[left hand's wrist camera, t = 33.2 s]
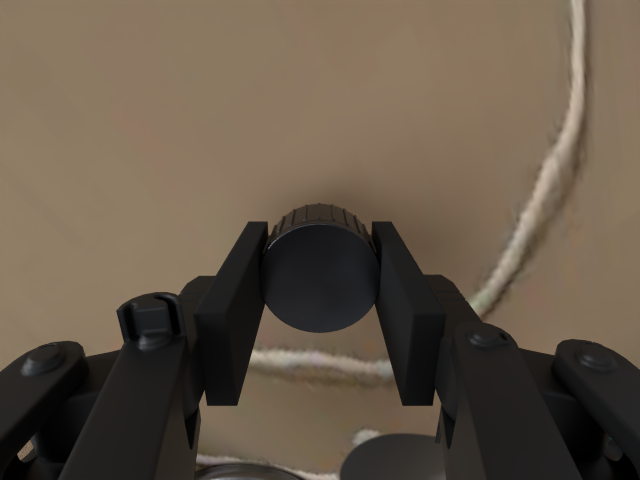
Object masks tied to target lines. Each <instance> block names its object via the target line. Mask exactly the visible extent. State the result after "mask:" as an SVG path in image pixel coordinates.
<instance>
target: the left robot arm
mask: <svg viewBox="0 0 640 480" xmlns="http://www.w3.org/2000/svg"><path fill="white" fill-rule="evenodd" d="M371 238H372V240H373V243H374V246H375V248H376V251H377V253H378V254H376V256H377V258H378V261H379V264H380V269H381V280H380V291H379V294H378V297H377V299H376V301H375V307H376V310H377V314H378V318H379V321H380V325H381V329H382V332H383V336H384V340H385V343H386V347H387V351H388V354H389V358H390V362H391V365H392V369H393V372H394V376H395V380H396V383H397V387H398V391H399V394H400V398H401V402H402V405H403V406H433V399H434V393H435V389H436V391H437V394H438V396H439V398H440V401H441V403H442V404H441V410H440V416H439V421H438V427H437V433H436V440H435V442H436V443H440V440H441V439H442V448H443V456H444V464H445V472H446V480H640V370H639V369H638V368H637V367H636V366H634V365H633V364H632V363H631V362H629V361H628V360H627V359H626V358H624V357H622V356H621V355H619V354H618V353H616V352H615V351H613V350H611V349H609V348H606V347H604V346H602V345H601V344H598V343H595V342H591V341H586V340H576V339H570V340H564V341H562V342H561V343H559V344H558V345H557V348H556V352H555V355H550V354H545V353H540V352H535V351H530V350H525V349H522V348H518V346H517V343H516V342H515V340H514V339H513V338H512V337H511V335H509V334H508V333H507V332H505V331H504V330H502V329H501V328H498V327H496V326H493V325H491V324H487V323H483V322H482V321H481V319H480V318H479V317H478V315H477V314H476V313H475V311H474V310H473V309H472V307H471V306H470V305H469V303H468V302H467V301H465V298H464V297H463V295H462V294H461V293H460V291H459V290H458V289H457V287H456V286H455V285H454V283H453V282H451V281H450V280H448V279H447V278H445V277H444V276H442V275H423V273H422V272H421V270H420V269H419V267H418V265H417V264H416V262H415V260H414V259H413V257H412V255H411V254H410V252H409V250H408V249H407V247H406V245H405V244H404V242H403V240H402V239H401V237H400V235H399V234H398V232H397V230H396V229H395V227H394V225H393V224H392V222H372V234H371ZM267 240H268V222H248V223H247V225H246V227H245V228H244V230H243V232H242V233H241V235H240V237H239V238H238V240H237V242H236V243H235V245H234V247H233V248H232V250H231V252H230V253H229V255H228V257H227V258H226V260H225V261H224V263H223V265H222V266H221V268H220V270H219V271H218V273H217V275H216V276H198V277H197V278H195V279H193V280H192V281H190V282H189V283H187V284H186V286H185V287H184V288H183V290H182V291H181V292H180V294H179V295H178V296H177V295H176V294H173V293H168V292H155V293H149V294H144V295H141V296H138V297H136V298H133V299H131V300H129V301H127V302H126V303H124V304H122V305H121V306H120V307H119V309H118V310H117V315H118V319H119V323H120V327H121V331H122V335H123V339H124V344H123V346H122V348H121V350H117V351H113V352H108V353H103V354H98V355H93V356H88V357H86V356H85V353H84V349H83V347H82V346H81V345H80V344H79V343H78V342H72V341H61V342H53V343H49V344H45V345H42V346H39V347H37V348H35V349H33V350H31V351H29V352H27V353H25V354H24V355H22V356H20V357H19V358H17V359H16V360H14V361H13V362H12V363H11V364H10V365H8V366H7V367H6V368H5V369H3V370H2V371H1V372H0V480H300V479H298V478H296V477H294V476H292V475H290V474H288V473H285V472H282V471H280V470H276V469H272V468H268V467H263V466H257V465H245V464H234V465H223V466H216V467H212V468H208V469H204V470H201V471H198V472H196V473H195V465H196V457H197V448H198V440H199V432H200V424H201V416H200V410H199V402H200V400H201V397H202V395H203V392H204V390H205V394H206V401H207V406H237V405H238V401H239V397H240V394H241V390H242V386H243V383H244V379H245V375H246V372H247V368H248V364H249V361H250V357H251V353H252V350H253V346H254V342H255V339H256V335H257V331H258V328H259V324H260V320H261V317H262V313H263V309H264V306H265V301H264V300H263V298H262V295H261V292H260V283H259V267H260V264H261V260H262V258H263V255H262V253H263V250H264V248H265V245H266V242H267ZM610 438H611V439H612V440H613V441H614V442H615V443H616V444H617V445H618V446H619V448H620V449H621V450H622V451H623V452H624V453H623V455H622V457H621V458H620V459H619V458H617V457H616V456H615V455H614V454H613V453H612V452H611V451H610V450H609V448H608V447H607V444H608V442H609V439H610ZM29 440H31V443H32V445H33V447H34V448H33V449H32V450H31V451H30V453H29V454H28V455H27V456H26V457H24V458H23V459H22V460H20V459H19V458H18V456H17V453H18V452H19V451H20V450H21V449H22V448H23V447H24V446H25V444H26V443H27V442H28V441H29Z"/></svg>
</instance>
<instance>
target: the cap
mask: <svg viewBox="0 0 640 480" xmlns="http://www.w3.org/2000/svg"><path fill="white" fill-rule="evenodd" d="M376 254H378V253H377V251H376V248H375V246H374V243H373V240H372V238H371V235H370V234H368V232H367V229H366V227H365V225H364V224H362V223H361V222H360V221H359V220H358V219H357V216H356V215H352V214H351V213H349V212H348V211H346V209H342V208H339V207H336V206H334V205H332V204H331V205H327V204H320V203H318V204H314V205H308V206H307V205H305V206H303V207H301V208H298V209H296V210H295V209H293V211H292V212H290V213H289V214H287V215H286V216H283V217H282V220H281V221H280V222H279V223H278V224H277V225H275V226H274V228H273V231H272V233H271V236H270V235H269V237H268V240H267V242H266V245H265V248H264V250H263V253H262V255H263V258H262V260H261V264H260V267H259V283H260V292H261V295H262V298H263V300H264V301H265V303H266V305H267V306H268V308H269V309H270V310H271V312H272V313H273V314H274V315H275V316H276V317H278V318H279V319H280V320H281V321H283V322H284V323H286V324H288V325H290V326H292V327H294V328H296V329H299V330H303V331H307V332H314V333H325V332H332V331H337V330H340V329H344V328H346V327H348V326H350V325H352V324H354V323H356V322H357V321H359V320H360V319H361V318H362V317H364V316H365V315H366V314H367V313H368V311H369V310H370V309H371V308H372V306H373V305H374V303H375V301H376V299H377V297H378V294H379V291H380V280H381V269H380V264H379V261H378V258H377V256H376Z"/></svg>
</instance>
